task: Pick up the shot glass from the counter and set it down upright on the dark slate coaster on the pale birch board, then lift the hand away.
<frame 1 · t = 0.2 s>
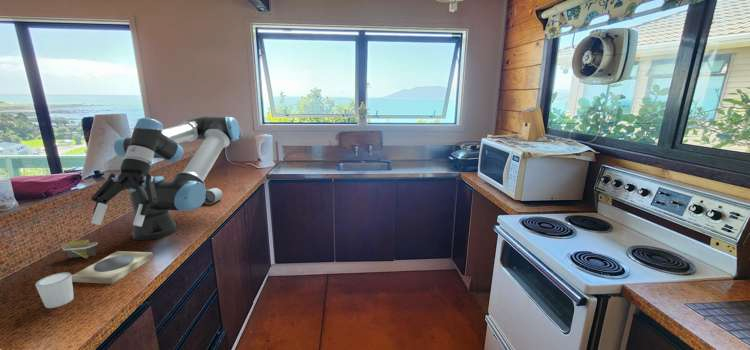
hand: (116, 225, 96), 16 cm above the counter, tool tilted 35°, fingers open, 13 cm apart
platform: (81, 259, 109), on the counter
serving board: (115, 268, 101), on the counter
ceramic mug: (210, 202, 168), on the counter
shot glass: (59, 302, 85), on the counter
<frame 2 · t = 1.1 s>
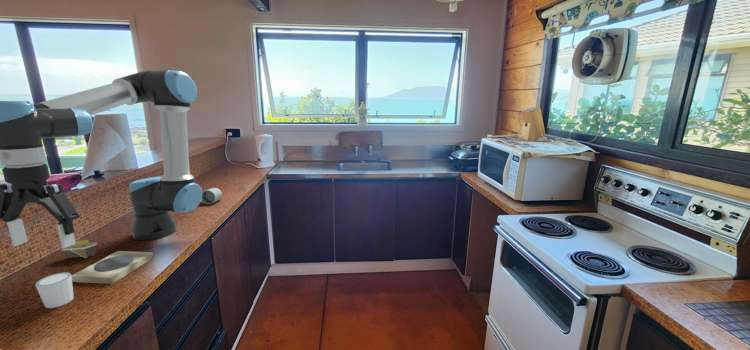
hand: (44, 244, 81), 17 cm above the counter, tool pointing down, fingers open, 13 cm apart
nothing on the counter moved.
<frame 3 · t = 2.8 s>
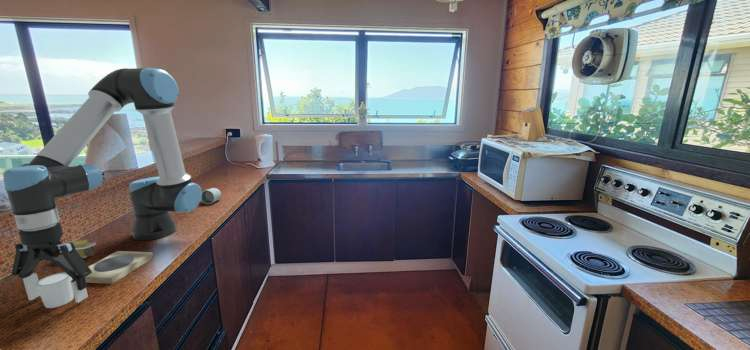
hand: (58, 298, 85), 1 cm above the counter, tool pointing down, fingers open, 13 cm apart
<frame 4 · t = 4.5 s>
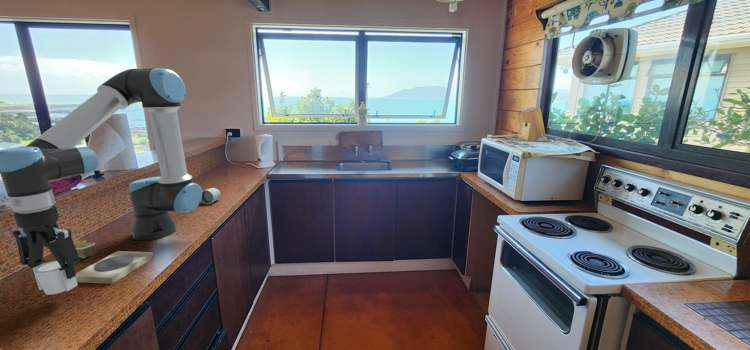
hand: (58, 287, 85), 4 cm above the counter, tool pointing down, fingers closed on shot glass, 7 cm apart
shot glass: (59, 288, 85), point 3 cm above the counter, touching gripper
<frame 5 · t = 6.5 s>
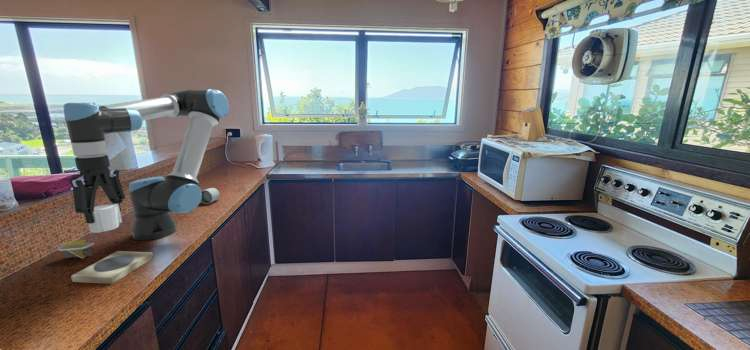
hand: (107, 227, 98), 15 cm above the counter, tool pointing down, fingers closed on shot glass, 7 cm apart
shot glass: (107, 228, 98), point 14 cm above the counter, touching gripper
when the fingers open (3 cm above the counter, at t = 8.7 s): shot glass stays where it is, resting on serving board.
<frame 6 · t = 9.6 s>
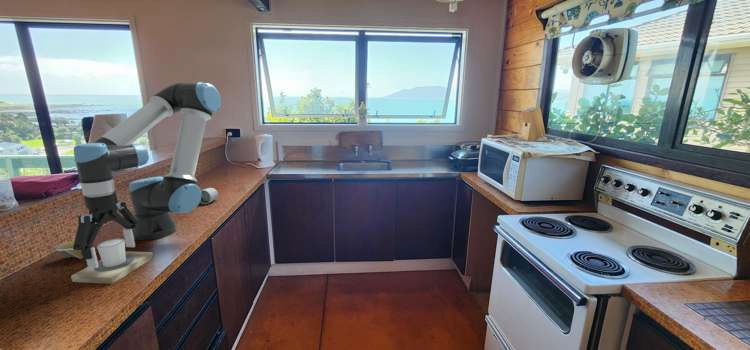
hand: (113, 256, 100), 4 cm above the counter, tool pointing down, fingers open, 13 cm apart
shot glass: (115, 262, 101), point 2 cm above the counter, touching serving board
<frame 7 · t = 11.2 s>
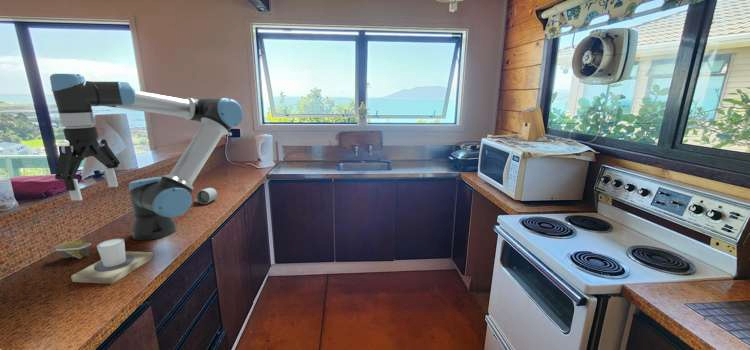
hand: (96, 193, 100), 25 cm above the counter, tool pointing down, fingers open, 13 cm apart
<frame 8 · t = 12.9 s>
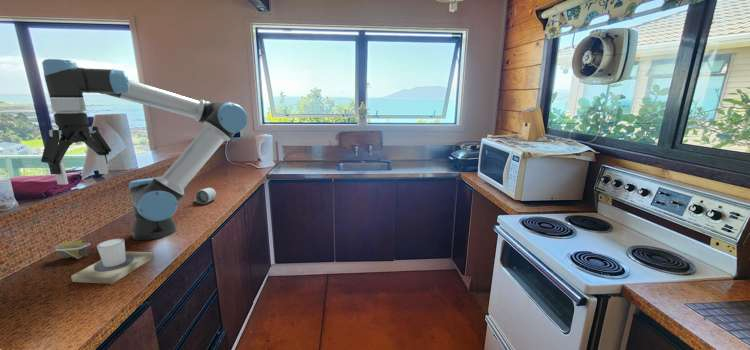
hand: (84, 178, 101), 29 cm above the counter, tool pointing down, fingers open, 13 cm apart
at the end: shot glass 0.1 cm from the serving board (horizontally); shot glass point 2.1 cm above the counter; shot glass tilted 0° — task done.
